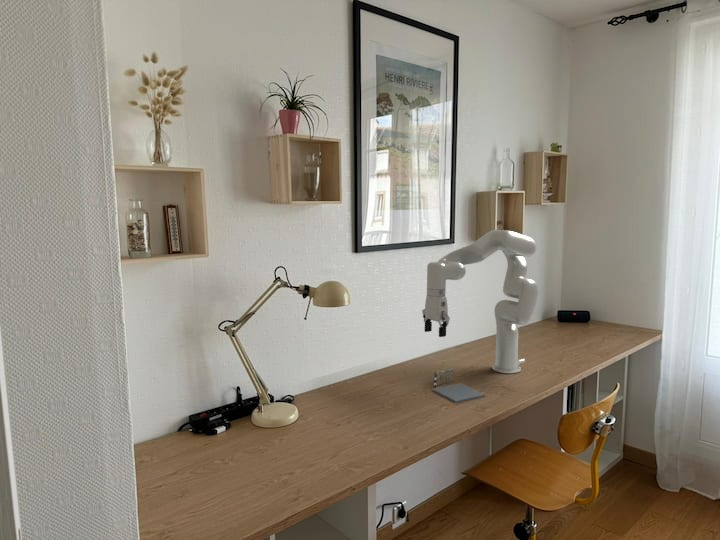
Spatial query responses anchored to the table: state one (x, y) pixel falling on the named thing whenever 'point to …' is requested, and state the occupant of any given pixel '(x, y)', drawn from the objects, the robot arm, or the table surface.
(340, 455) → the table surface
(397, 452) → the table surface
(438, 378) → the cuneiform tablet
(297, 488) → the table surface
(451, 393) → the mat
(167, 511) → the table surface
